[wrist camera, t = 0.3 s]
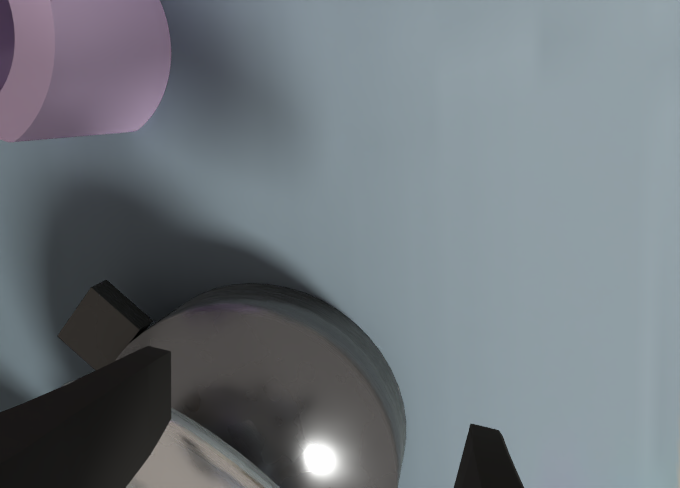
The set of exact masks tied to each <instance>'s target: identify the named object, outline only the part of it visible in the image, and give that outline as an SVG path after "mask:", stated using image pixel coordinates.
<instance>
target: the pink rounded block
mask: <svg viewBox="0 0 680 488" xmlns="http://www.w3.org/2000/svg"><path fill="white" fill-rule="evenodd" d="M170 65H171V40H170V33H169V28H168V23H167V19H166V16H165V13H164V10H163V7H162V4H161V2H160V0H0V140H4V141H6V142H19V141H30V140H42V139H53V138H65V137H77V136H88V135H100V134H112V133H123V132H134V131H137V130H139V129H140V128H141V127H142V126H143V125H144V124H145V123H146V122H147V121H148V120H149V118H150V117H151V116H152V115H153V113H154V112H155V110H156V108H157V107H158V105H159V103H160V101H161V99H162V97H163V94H164V92H165V89H166V86H167V82H168V78H169V73H170Z"/></svg>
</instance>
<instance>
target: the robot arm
mask: <svg viewBox="0 0 680 488" xmlns="http://www.w3.org/2000/svg"><path fill="white" fill-rule="evenodd" d="M170 420H171V351H168V350H164V349H160V348H155V347H151V346H146V347H144V348H142V349H139V350H137V351H135V352H133V353H131V354H129V355H127V356H125V357H123V358H121V359H119V360H116V361H114V362H112V363H110V364H108V365H106V366H104V367H102V368H100V369H98V370H96V371H94V372H92V373H90V374H88V375H86V376H84V377H82V378H79V379H77V380H75V381H73V382H71V383H69V384H67V385H65V386H62V387H60V388H58V389H55V390H53V391H51V392H49V393H46V394H44V395H42V396H39V397H37V398H35V399H33V400H30V401H28V402H26V403H23V404H21V405H18V406H16V407H13V408H11V409H8V410H5V411H3V412H0V488H126V487H127V485H128V484H129V483H130V481H131V480H132V479H133V478H134V476H135V475H136V474H137V472H138V471H139V470H140V468H141V467H142V466H143V464H144V463H145V462H146V460H147V459H148V458H149V456H150V455H151V453H152V451H153V450H154V448H155V446H156V445H157V443H158V441H159V440H160V438H161V436H162V434H163V433H164V431H165V429H166V427H167V425H168V424H169V422H170ZM454 488H524V486H523V484H522V482H521V480H520V478H519V475H518V473H517V471H516V469H515V466H514V464H513V462H512V459H511V457H510V454H509V452H508V449H507V447H506V444H505V441H504V439H503V436H502V434H501V433H500V431H499V430H495V429H491V428H487V427H483V426H479V425H475V424H470V428H469V432H468V436H467V440H466V443H465V447H464V451H463V455H462V459H461V462H460V466H459V470H458V474H457V478H456V481H455V485H454Z"/></svg>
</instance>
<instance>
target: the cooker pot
mask: <svg viewBox="0 0 680 488" xmlns="http://www.w3.org/2000/svg"><path fill="white" fill-rule="evenodd" d="M152 321H153V320H151V319H150V318H149V317H148V316H147V315H146V314H145V313H143V312H142V311H141V310H140V309H139V308H138V307H137V306H136V305H134V304H133V303H132V302H131V301H130V300H129V299H128V298H127V297H125V296H124V295H123V294H122V293H121V292H120V291H119V290H117V289H116V288H115V287H114V286H113V285H112V284H111V283H110V282H108V281H107V280H105V281H103V282H101V283H99V284H97V285H95V286H93V287H91V288H90V290H89V291H88V293H87V294H86V295H85V297H84V298H83V300H82V301H81V303H80V304H79V306H78V307H77V308H76V310H75V311H74V313H73V314H72V316H71V317H70V318H69V320H68V321H67V323H66V324H65V326H64V327H63V329H62V330H61V331H60V333H59V334H58V337H59V338H60V339H61V340H62V341H63V342H64V343H65V344H67V345H68V346H69V347H70V348H71V349H72V350H73V351H75V352H76V353H77V354H78V355H79V356H80V357H81V358H82V359H84V360H85V361H86V362H87V363H88V364H89V365H90V366H91V367H93V368H94V369H95V370H98V369H100V368H102V367H104V366H106V365H108V364H110V363H112V362H114V361H116V360H119V359H121V358H123V357H125V356H127V355H129V354H131V353H133V352H135V351H137V350H139V349H142V348H144V347H146V346H151V347H155V348H160V349H164V350H168V351H171V408H173V409H175V410H177V411H178V412H180V413H182V414H184V415H185V416H187V417H189V418H191V419H192V420H194V421H195V422H197V423H198V424H200V425H201V426H203V427H204V428H206V429H207V430H209V431H210V432H212V433H213V434H215V435H216V436H218V437H219V438H220V439H222V440H223V441H224V442H226V443H227V444H229V445H230V446H231V447H233V448H234V449H235V450H237V451H238V452H239V453H241V454H242V455H243V456H244V457H245V458H247V459H248V460H249V461H250V462H251V463H253V464H254V465H255V466H256V467H257V468H259V469H260V470H261V471H262V472H263V473H265V474H266V475H267V476H268V477H269V478H270V479H271V480H272V481H273V482H274V483H275V484H276V485H278V486H279V487H280V488H398V483H399V477H400V472H401V467H402V461H403V456H404V450H405V443H406V417H405V410H404V403H403V400H402V396H401V393H400V390H399V386H398V384H397V382H396V379H395V377H394V375H393V373H392V370H391V368H390V367H389V365H388V363H387V362H386V360H385V358H384V357H383V355H382V353H381V352H380V351H379V350H378V348H377V347H376V346H375V344H374V343H373V342H372V341H371V339H370V338H369V337H368V336H367V335H366V334H365V333H364V332H363V331H362V330H361V329H360V328H359V327H358V326H357V325H356V324H355V323H354V322H352V321H351V320H350V319H349V318H347V317H346V316H345V315H343V314H342V313H341V312H340V311H338V310H336V309H335V308H333V307H331V306H330V305H328V304H326V303H325V302H323V301H321V300H319V299H317V298H314V297H312V296H310V295H308V294H306V293H303V292H300V291H296V290H293V289H290V288H287V287H281V286H276V285H270V284H256V283H246V284H234V285H228V286H224V287H220V288H215V289H213V290H210V291H208V292H205V293H202V294H200V295H198V296H196V297H195V298H193V299H191V300H189V301H188V302H186V303H184V304H183V305H182V306H180V307H179V308H177V309H176V310H174V311H173V312H172V313H170V314H169V315H167V316H166V317H164V318H163V319H162V320H160V321H159V322H157V323H156V324H155V325H153V326H152V327H150V328H149V329H147V328H148V326H149V325H150V324H151V322H152ZM146 329H147V330H146ZM145 330H146V331H145Z"/></svg>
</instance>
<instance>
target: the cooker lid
mask: <svg viewBox="0 0 680 488" xmlns="http://www.w3.org/2000/svg"><path fill="white" fill-rule="evenodd" d="M74 381H75V380H74ZM71 382H73V381H71ZM71 382H68V383H66V384H64V385H63V386H65V385H67V384H69V383H71ZM126 488H280V487H279V486H278V485H276V484H275V483H274V482H273V481H272V480H271V479H270V478H269V477H268V476H267V475H266V474H265V473H263V472H262V471H261V470H260V469H259V468H257V467H256V466H255V465H254V464H253V463H251V462H250V461H249V460H248V459H247V458H245V457H244V456H243V455H242V454H241V453H239V452H238V451H237V450H235V449H234V448H233V447H231V446H230V445H229V444H227V443H226V442H224V441H223V440H222V439H220V438H219V437H218V436H216V435H215V434H213V433H212V432H210V431H209V430H207V429H206V428H204V427H203V426H201V425H200V424H198V423H197V422H195V421H194V420H192V419H191V418H189V417H187V416H185V415H184V414H182V413H180V412H178V411H177V410H175V409H173V408H171V420H170V422H169V424H168V425H167V427H166V429H165V431H164V433H163V434H162V436H161V438H160V440H159V441H158V443H157V445H156V446H155V448H154V450H153V451H152V453H151V455H150V456H149V458H148V459H147V460H146V462H145V463H144V464H143V466H142V467H141V468H140V470H139V471H138V472H137V474H136V475H135V476H134V478H133V479H132V480H131V481H130V483H129V484H128V485H127V487H126Z"/></svg>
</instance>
